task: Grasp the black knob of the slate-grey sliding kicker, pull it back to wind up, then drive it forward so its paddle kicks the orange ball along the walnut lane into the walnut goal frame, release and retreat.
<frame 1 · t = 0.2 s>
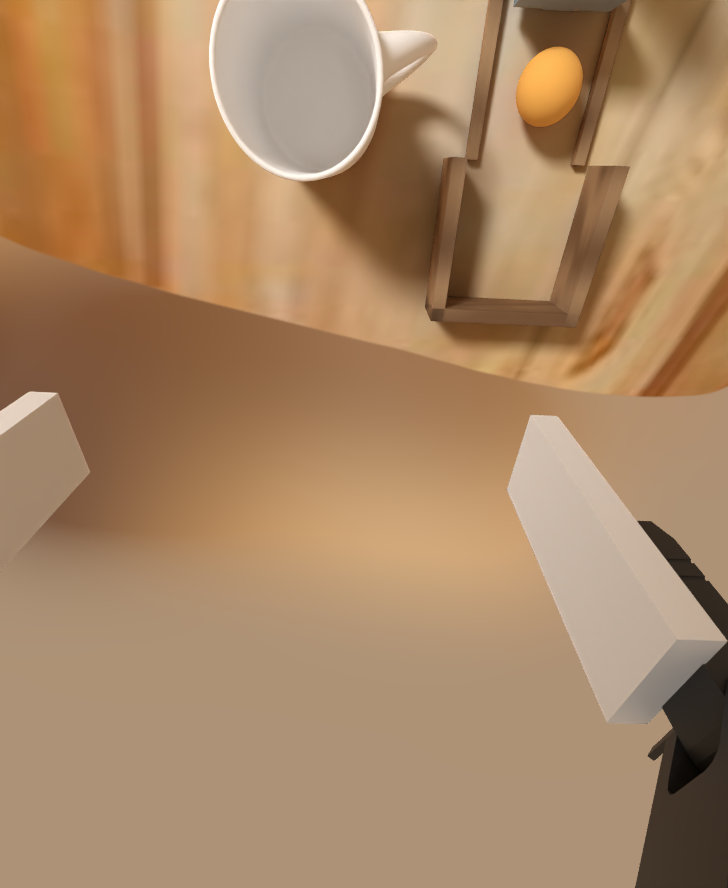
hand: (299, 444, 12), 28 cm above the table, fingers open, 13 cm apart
ball: (548, 88, 27), point 2 cm above the table
goal: (505, 242, 34), on the table
mug: (341, 97, 29), on the table
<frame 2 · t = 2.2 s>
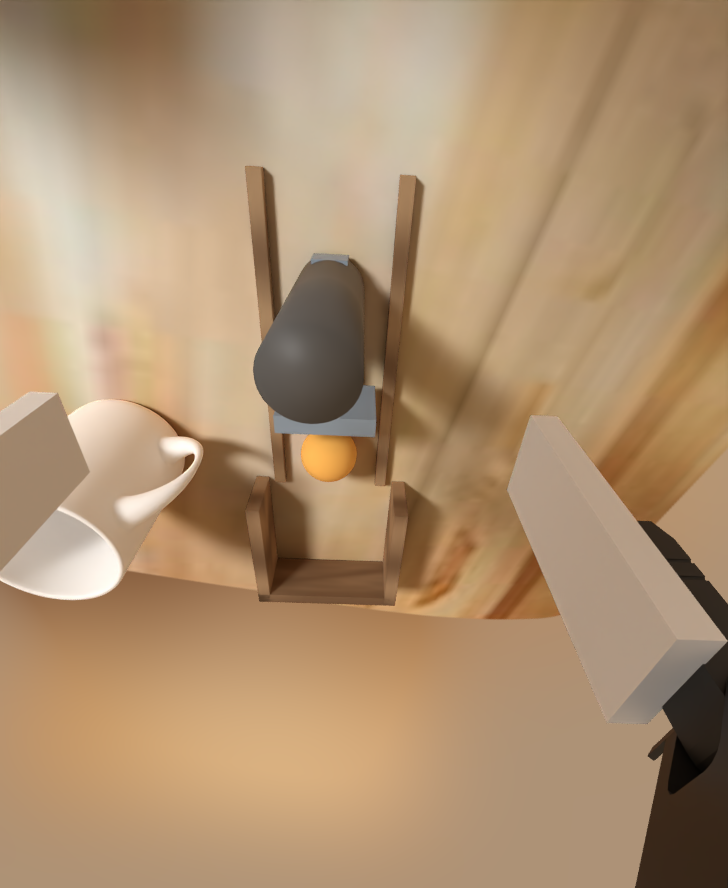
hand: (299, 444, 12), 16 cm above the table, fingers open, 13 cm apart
ball: (329, 454, 30), point 2 cm above the table
lane: (331, 365, 28), on the table
kicker: (323, 371, 21), point 6 cm above the table, slide at 2.0 cm
goal: (330, 526, 37), on the table
mug: (152, 438, 32), on the table
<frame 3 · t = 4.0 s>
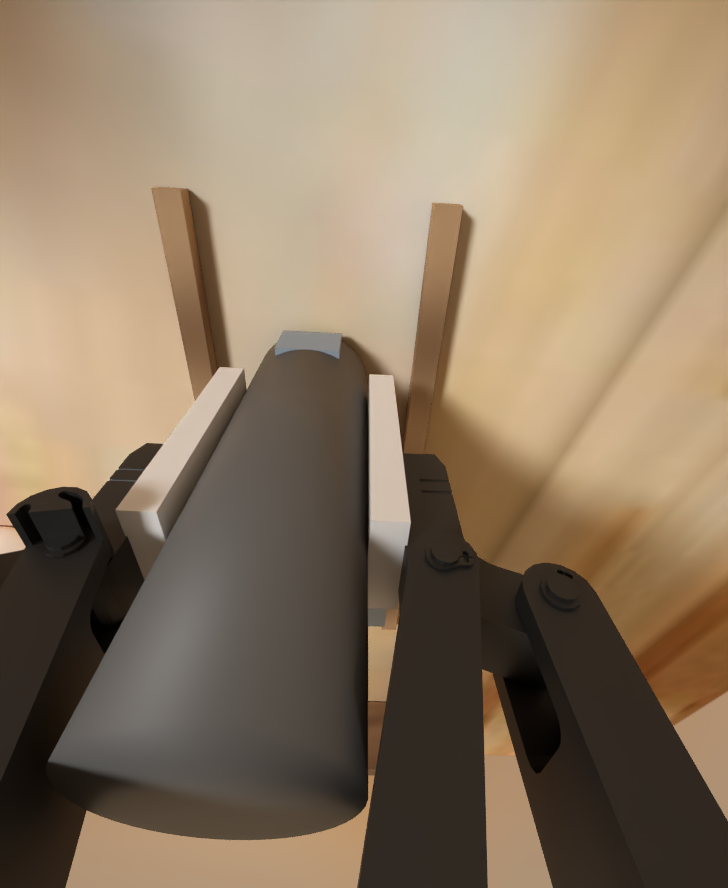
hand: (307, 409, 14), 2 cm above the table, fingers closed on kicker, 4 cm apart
lane: (316, 484, 18), on the table
kicker: (292, 559, 12), point 6 cm above the table, slide at 2.0 cm, touching gripper
goal: (320, 667, 27), on the table
mug: (61, 568, 22), on the table
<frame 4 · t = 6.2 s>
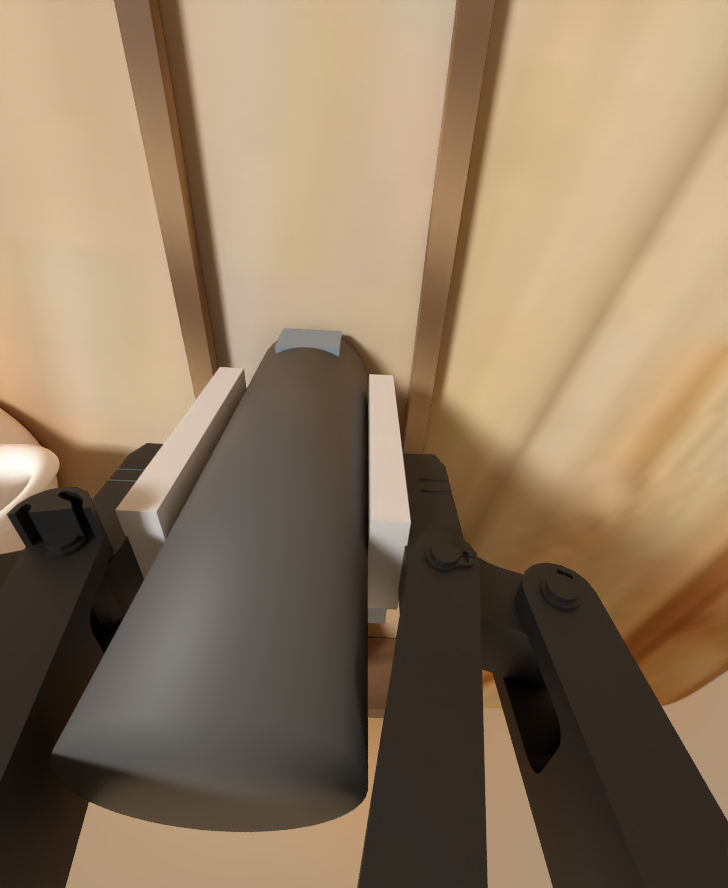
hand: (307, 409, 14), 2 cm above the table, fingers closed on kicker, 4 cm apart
lane: (313, 302, 14), on the table
kicker: (293, 556, 12), point 6 cm above the table, slide at 9.9 cm, touching gripper
goal: (319, 589, 23), on the table
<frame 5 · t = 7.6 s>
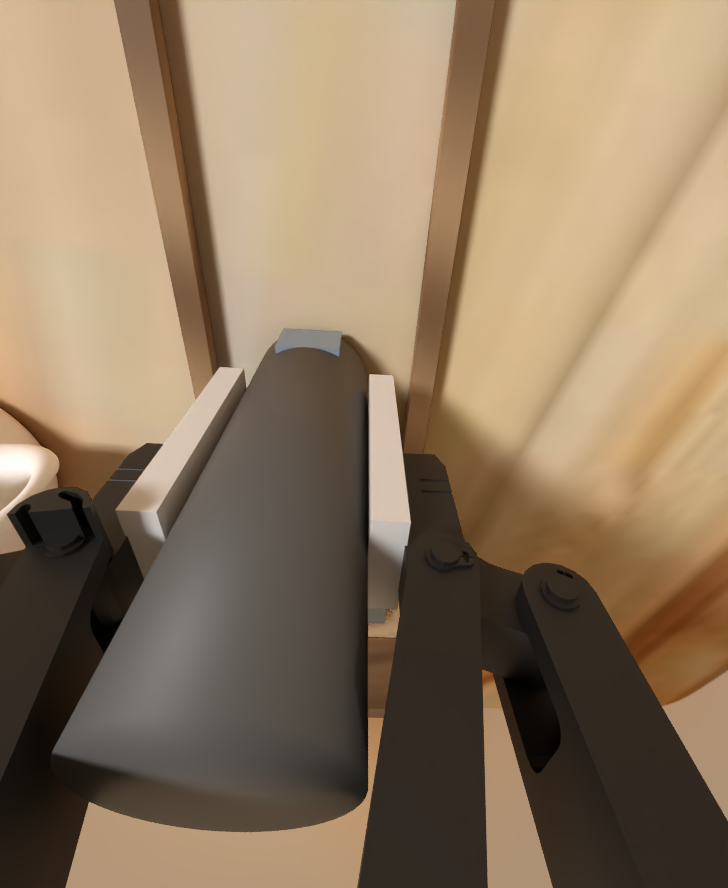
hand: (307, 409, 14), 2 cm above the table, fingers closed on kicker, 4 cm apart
lane: (313, 302, 14), on the table
kicker: (293, 556, 12), point 6 cm above the table, slide at 9.9 cm, touching gripper
goal: (319, 589, 23), on the table
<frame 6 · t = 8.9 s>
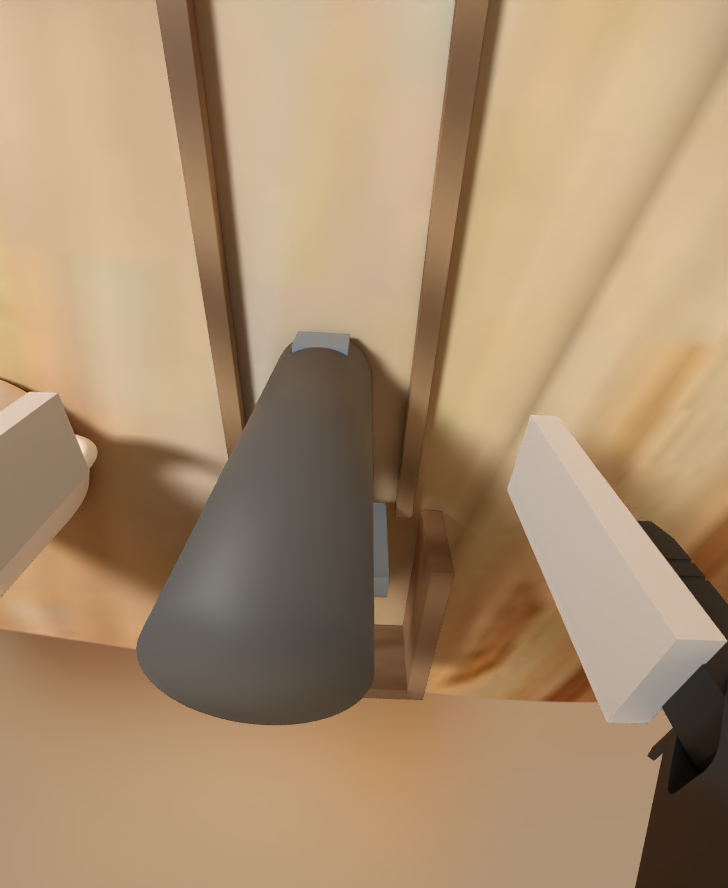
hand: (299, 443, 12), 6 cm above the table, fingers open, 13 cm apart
lane: (324, 308, 16), on the table
kicker: (307, 528, 13), point 6 cm above the table, slide at 9.9 cm
goal: (325, 576, 24), on the table
mug: (35, 437, 20), on the table
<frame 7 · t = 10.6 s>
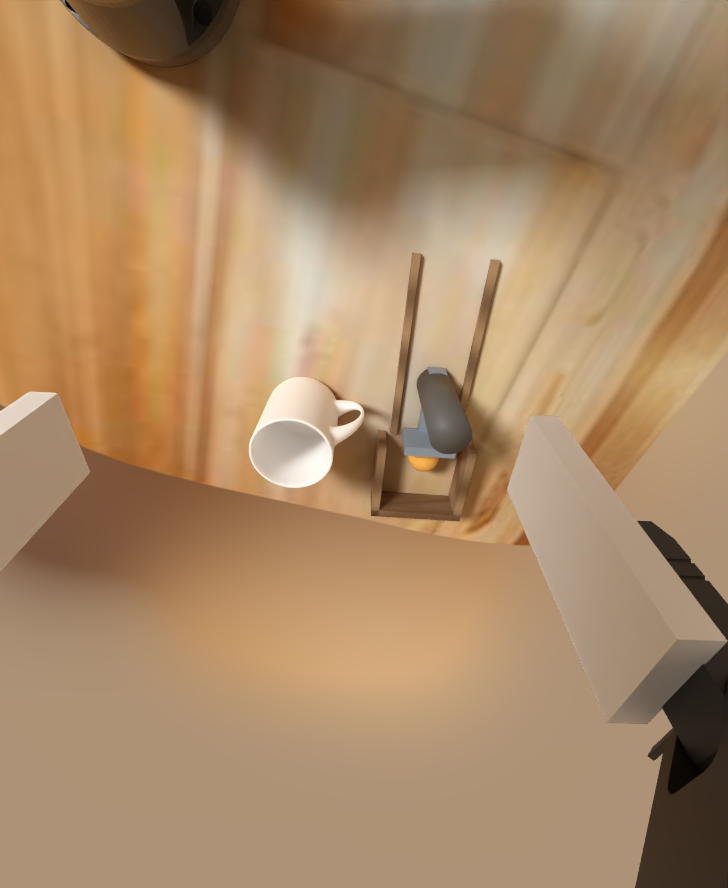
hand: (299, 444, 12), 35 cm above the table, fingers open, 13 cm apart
ball: (423, 455, 52), point 2 cm above the table, tilted 163°
lane: (437, 359, 48), on the table
kicker: (437, 427, 45), point 6 cm above the table, slide at 9.9 cm
goal: (418, 468, 56), on the table
mug: (317, 403, 51), on the table
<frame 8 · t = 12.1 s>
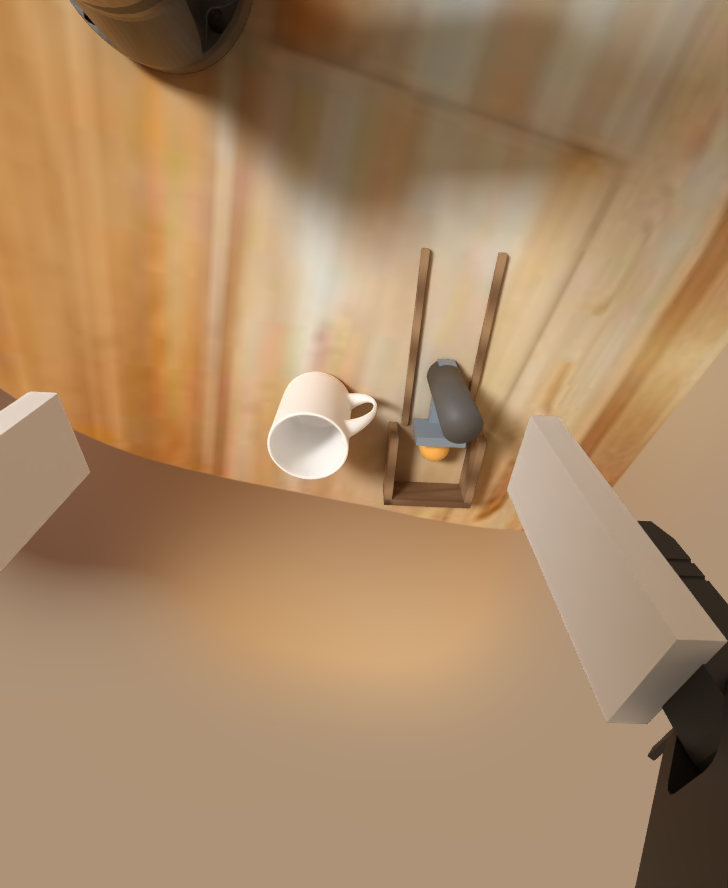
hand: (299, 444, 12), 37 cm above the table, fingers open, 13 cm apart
ball: (434, 446, 54), point 2 cm above the table, tilted 166°
lane: (446, 351, 49), on the table
kicker: (448, 418, 47), point 6 cm above the table, slide at 9.9 cm
goal: (429, 457, 58), on the table
mug: (330, 396, 53), on the table
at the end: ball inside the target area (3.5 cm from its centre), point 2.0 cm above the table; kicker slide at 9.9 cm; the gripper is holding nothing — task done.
